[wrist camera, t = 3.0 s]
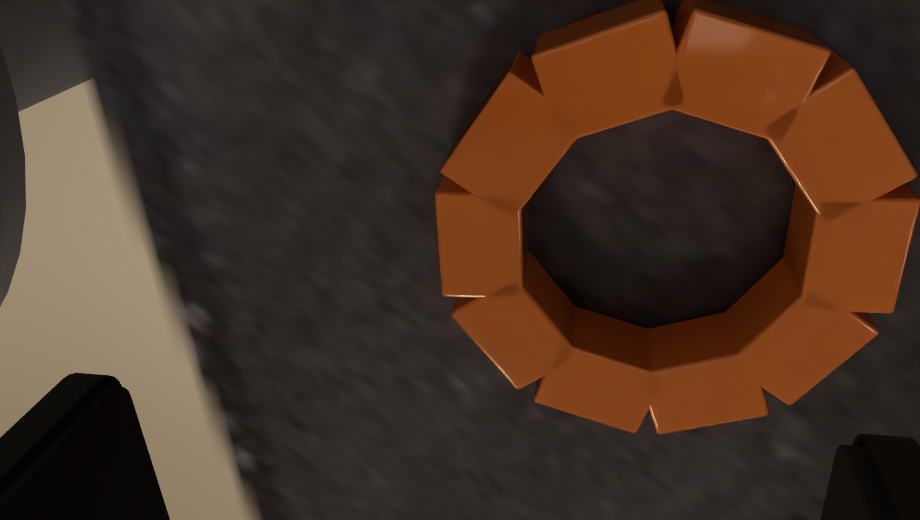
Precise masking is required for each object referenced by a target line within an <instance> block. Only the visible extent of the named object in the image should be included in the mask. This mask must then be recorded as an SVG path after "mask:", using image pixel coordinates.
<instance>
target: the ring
mask: <svg viewBox="0 0 920 520" xmlns="http://www.w3.org/2000/svg"><path fill="white" fill-rule="evenodd" d="M669 110H674V111H678V112H681V113H684V114H687V115H691V116H694V117H697V118H700V119H704V120H707V121H710V122H713V123H716V124H720V125H723V126H726V127H729V128H733V129H736V130H739V131H742V132H746V133H749V134H752V135H755V136H758V137H762V138H765V139H767V140H768V142H769V143H770V145H771V147H772V148H773V150H774V151H775V153H776V154H777V156H778V157H779V159H780V160H781V162H782V163H783V165H784V166H785V168H786V169H787V171H788V172H789V174H790V175H791V177H792V178H793V180H794V181H795V189H794V196H793V202H792V208H791V214H790V220H789V226H788V232H787V238H786V244H785V250H784V257H783V258H782V259H781V260H780V261H779V262H777V263H776V264H775V265H774V266H773V267H772V268H771V269H770V270H769V271H768V272H767V273H766V274H765V275H764V276H763V277H762V278H761V279H760V280H758V281H757V282H756V283H755V284H754V285H753V286H752V287H751V288H750V289H749V290H748V291H747V292H746V293H745V294H744V295H743V296H742V297H741V298H739V299H738V300H737V301H736V302H735V303H734V304H733V305H732V306H731V307H730V308H729V309H728V310H727V311H726V312H722V313H717V314H713V315H708V316H704V317H699V318H695V319H690V320H685V321H681V322H676V323H672V324H667V325H663V326H658V327H654V328H649V329H647V328H644V327H641V326H638V325H635V324H631V323H628V322H625V321H622V320H619V319H616V318H612V317H609V316H606V315H603V314H600V313H596V312H593V311H590V310H587V309H584V308H581V307H577V306H574V305H573V304H572V302H571V301H570V300H569V299H568V298H567V296H566V295H565V294H564V293H563V291H562V290H561V289H560V288H559V286H558V285H557V284H556V283H555V282H554V280H553V279H552V278H551V277H550V275H549V274H548V273H547V272H546V271H545V269H544V268H543V267H542V266H541V264H540V263H539V262H538V261H537V259H536V258H535V257H534V256H533V255H532V253H531V252H530V249H529V199H530V198H531V196H532V195H533V194H534V193H535V191H536V190H537V189H538V188H539V186H540V185H541V184H542V183H543V181H544V180H545V179H546V177H547V176H548V175H549V174H550V172H551V171H552V170H553V169H554V167H555V166H556V165H557V163H558V162H559V161H560V160H561V158H562V157H563V156H564V155H565V153H566V152H567V151H568V150H569V148H570V147H571V146H572V144H573V143H574V142H575V141H576V139H577V138H581V137H584V136H587V135H590V134H594V133H597V132H600V131H604V130H607V129H610V128H613V127H617V126H620V125H623V124H627V123H630V122H633V121H636V120H640V119H643V118H646V117H650V116H653V115H656V114H659V113H663V112H666V111H669ZM440 172H441V173H442V174H443V175H444V176H443V178H442V180H441V182H440V184H439V186H438V188H437V190H436V193H435V209H436V222H437V235H438V249H439V262H440V275H441V289H442V294H443V296H445V297H457V298H456V301H455V304H454V307H453V310H452V313H451V314H452V317H453V318H454V319H455V320H456V322H457V323H458V324H459V325H460V326H461V327H462V328H463V329H464V331H465V332H466V333H467V334H468V335H469V336H470V337H471V339H472V340H473V341H474V342H475V343H476V344H477V345H478V347H479V348H480V349H481V350H482V351H483V352H484V353H485V354H486V356H487V357H488V358H489V359H490V360H491V361H492V362H493V364H494V365H495V366H496V367H497V368H498V369H499V370H500V371H501V373H502V374H503V375H504V376H505V377H506V378H507V379H508V381H509V382H510V383H511V384H512V385H513V386H514V387H515V388H516V389H521V388H523V387H524V386H526V385H528V384H530V383H532V382H534V381H536V380H537V381H536V389H535V398H534V400H535V402H536V403H539V404H543V405H546V406H549V407H552V408H555V409H558V410H562V411H565V412H568V413H571V414H574V415H577V416H581V417H584V418H587V419H590V420H593V421H596V422H600V423H603V424H606V425H609V426H612V427H615V428H619V429H622V430H625V431H628V432H631V433H637V431H638V429H639V427H640V425H641V423H642V422H643V420H644V418H645V416H646V414H647V412H648V410H649V412H650V415H651V418H652V421H653V424H654V427H655V430H656V432H657V433H658V434H666V433H672V432H677V431H683V430H689V429H694V428H700V427H706V426H711V425H717V424H723V423H728V422H734V421H740V420H745V419H751V418H757V417H762V416H767V415H768V413H769V410H768V406H767V402H766V398H765V394H764V390H763V388H764V389H765V390H767V391H768V392H770V393H771V394H773V395H774V396H776V397H777V398H779V399H780V400H782V401H783V402H785V403H786V404H788V405H792V404H793V403H795V402H796V401H797V400H798V399H799V398H801V397H802V396H803V395H804V394H806V393H807V392H808V391H809V390H810V389H812V388H813V387H814V386H815V385H817V384H818V383H819V382H820V381H821V380H823V379H824V378H825V377H826V376H828V375H829V374H830V373H831V372H833V371H834V370H835V369H836V368H837V367H839V366H840V365H841V364H842V363H844V362H845V361H846V360H847V359H848V358H850V357H851V356H852V355H853V354H855V353H856V352H857V351H858V350H859V349H861V348H862V347H863V346H864V345H866V344H867V343H868V342H869V341H870V340H872V339H873V338H874V337H875V336H877V335H878V333H879V330H878V328H877V327H876V325H875V323H874V321H873V320H872V318H871V316H870V315H869V313H893V311H894V308H895V304H896V300H897V296H898V292H899V288H900V284H901V280H902V276H903V272H904V268H905V264H906V260H907V256H908V252H909V248H910V244H911V240H912V236H913V232H914V228H915V224H916V220H917V216H918V212H919V208H920V198H919V197H918V196H917V195H916V194H915V193H914V192H913V191H912V189H911V188H910V187H909V186H908V185H907V184H906V183H907V182H909V181H910V180H912V179H914V178H916V177H917V172H916V170H915V168H914V167H913V165H912V163H911V162H910V160H909V158H908V157H907V155H906V153H905V151H904V150H903V148H902V146H901V145H900V143H899V141H898V140H897V138H896V136H895V135H894V133H893V131H892V130H891V128H890V126H889V125H888V123H887V121H886V120H885V118H884V116H883V115H882V113H881V111H880V110H879V108H878V106H877V104H876V103H875V101H874V99H873V98H872V96H871V94H870V93H869V91H868V89H867V88H866V86H865V84H864V83H863V81H862V79H861V78H860V76H859V74H858V73H857V71H856V69H855V68H854V67H852V66H851V65H850V64H849V63H848V62H847V61H845V60H844V59H843V58H842V57H841V56H840V55H838V54H837V53H836V52H835V51H834V50H833V49H832V48H830V47H829V46H825V45H824V44H822V43H821V42H820V41H819V40H818V39H817V38H816V37H814V36H813V35H812V34H811V33H810V32H809V31H808V30H806V29H804V28H801V27H798V26H794V25H791V24H788V23H785V22H781V21H778V20H775V19H772V18H768V17H765V16H762V15H759V14H755V13H752V12H749V11H746V10H742V9H739V8H736V7H733V6H729V5H726V4H723V3H720V2H716V1H713V0H681V2H680V5H679V7H678V10H677V13H676V15H675V18H674V20H673V23H672V25H670V21H669V17H668V13H667V11H666V8H665V6H664V3H663V1H662V0H637V1H634V2H632V3H629V4H626V5H623V6H620V7H617V8H614V9H612V10H609V11H606V12H603V13H600V14H597V15H595V16H592V17H589V18H586V19H583V20H580V21H578V22H575V23H572V24H569V25H566V26H563V27H561V28H558V29H555V30H552V31H549V32H546V33H544V34H541V35H539V36H538V38H537V41H536V44H535V47H534V50H533V53H532V57H531V58H529V57H528V56H526V55H525V54H523V53H522V52H521V51H517V52H516V53H515V55H514V56H513V58H512V59H511V61H510V62H509V64H508V65H507V66H506V68H505V69H504V71H503V72H502V74H501V75H500V77H499V78H498V80H497V81H496V82H495V84H494V85H493V87H492V88H491V90H490V91H489V93H488V94H487V95H486V97H485V98H484V100H483V101H482V103H481V104H480V106H479V107H478V108H477V110H476V111H475V113H474V114H473V116H472V117H471V119H470V120H469V122H468V123H467V124H466V126H465V127H464V129H463V130H462V132H461V133H460V135H459V136H458V137H457V139H456V140H455V142H454V144H453V146H452V148H451V150H450V152H449V154H448V156H447V158H446V160H445V162H444V164H443V166H442V168H441V171H440Z"/></svg>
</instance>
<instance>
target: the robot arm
mask: <svg viewBox="0 0 920 520" xmlns="http://www.w3.org/2000/svg"><path fill="white" fill-rule="evenodd" d="M0 520H170V519H169V515H168V513H167V509H166V506H165V503H164V499H163V497H162V493H161V490H160V487H159V484H158V480H157V477H156V474H155V471H154V468H153V465H152V461H151V458H150V455H149V452H148V449H147V446H146V442H145V439H144V436H143V433H142V430H141V427H140V423H139V420H138V417H137V414H136V411H135V408H134V405H133V401H132V398H131V395H130V393H129V391H128V390H127V389H126V388H123V387H122V386H121V384H120V382H119V381H118V380H117V379H116V378H115V377H113V376H109V375H95V374H82V373H74V374H69V375H68V376H66V377H65V378H63V379H62V380H61V381H60V382H59V383H58V384H57V385H56V386H55V387H54V388H53V389H52V390H51V391H50V392H49V393H47V394H46V395H45V396H44V397H43V398H42V399H41V400H40V401H39V402H38V403H37V404H36V405H35V406H34V407H33V408H32V409H30V410H29V411H28V412H27V413H26V414H25V415H24V416H23V417H22V418H21V419H20V420H19V421H18V422H17V423H16V424H15V425H14V426H12V428H10V429H9V430H8V431H7V432H6V433H5V434H4V435H3V436H2V437H1V438H0ZM821 520H920V446H919V445H918V443H917V442H916V441H915V440H914V439H912V438H908V437H895V436H882V435H870V434H859V435H857V437H856V438H855V439H854V442H853V445H852V446H850V445H840V446H839V447H838V448H837V451H836V454H835V459H834V463H833V467H832V472H831V476H830V480H829V485H828V489H827V493H826V498H825V502H824V507H823V511H822V515H821Z"/></svg>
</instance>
